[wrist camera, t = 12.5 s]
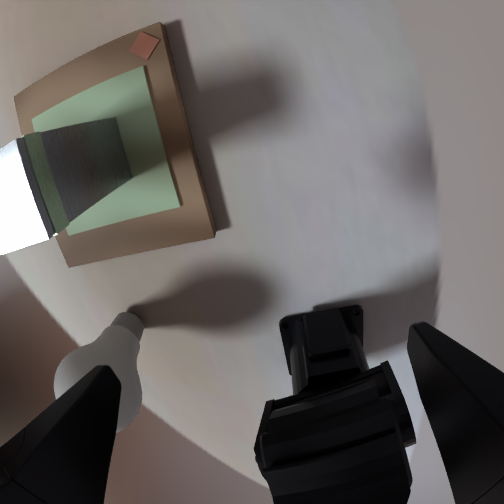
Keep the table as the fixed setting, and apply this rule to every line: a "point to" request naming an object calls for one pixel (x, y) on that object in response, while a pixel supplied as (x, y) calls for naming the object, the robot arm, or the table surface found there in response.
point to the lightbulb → (116, 356)
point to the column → (57, 179)
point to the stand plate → (127, 146)
